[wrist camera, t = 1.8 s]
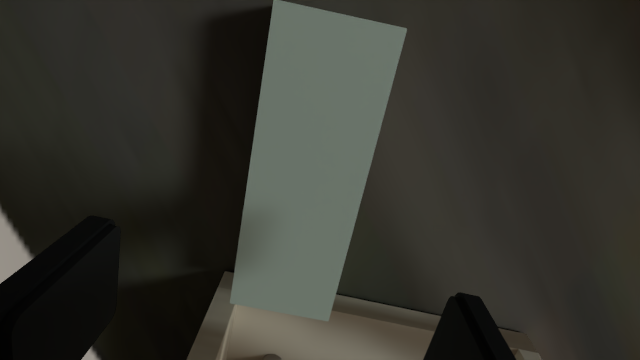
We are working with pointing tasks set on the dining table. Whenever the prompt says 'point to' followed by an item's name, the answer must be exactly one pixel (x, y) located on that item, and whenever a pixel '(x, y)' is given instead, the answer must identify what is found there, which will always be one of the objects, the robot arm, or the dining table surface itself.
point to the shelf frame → (323, 332)
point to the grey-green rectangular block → (311, 155)
